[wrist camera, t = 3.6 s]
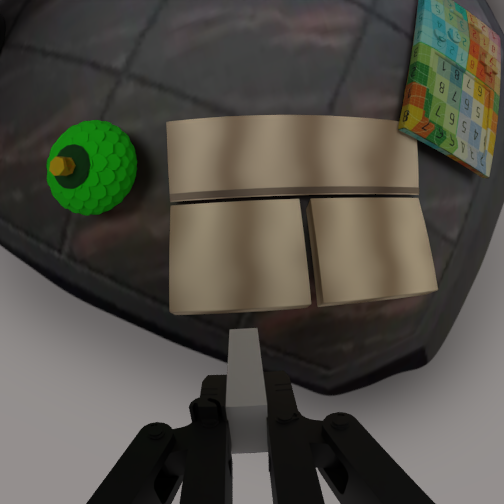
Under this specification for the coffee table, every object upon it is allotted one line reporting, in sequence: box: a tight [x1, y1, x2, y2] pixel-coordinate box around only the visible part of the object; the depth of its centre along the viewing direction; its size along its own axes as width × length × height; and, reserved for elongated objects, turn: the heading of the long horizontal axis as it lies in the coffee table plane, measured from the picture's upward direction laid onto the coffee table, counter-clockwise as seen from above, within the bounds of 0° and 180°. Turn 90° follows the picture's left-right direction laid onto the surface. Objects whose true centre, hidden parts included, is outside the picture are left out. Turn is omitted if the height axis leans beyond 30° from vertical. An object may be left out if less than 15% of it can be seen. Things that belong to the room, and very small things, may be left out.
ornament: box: [46, 120, 137, 216], centre depth 23 cm, size 8×8×10 cm
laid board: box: [167, 115, 419, 202], centre depth 27 cm, size 23×7×2 cm, turn 93°
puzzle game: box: [398, 0, 501, 178], centre depth 24 cm, size 12×5×20 cm
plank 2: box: [306, 198, 438, 307], centre depth 27 cm, size 11×9×2 cm
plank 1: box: [169, 199, 311, 315], centre depth 27 cm, size 11×9×2 cm
